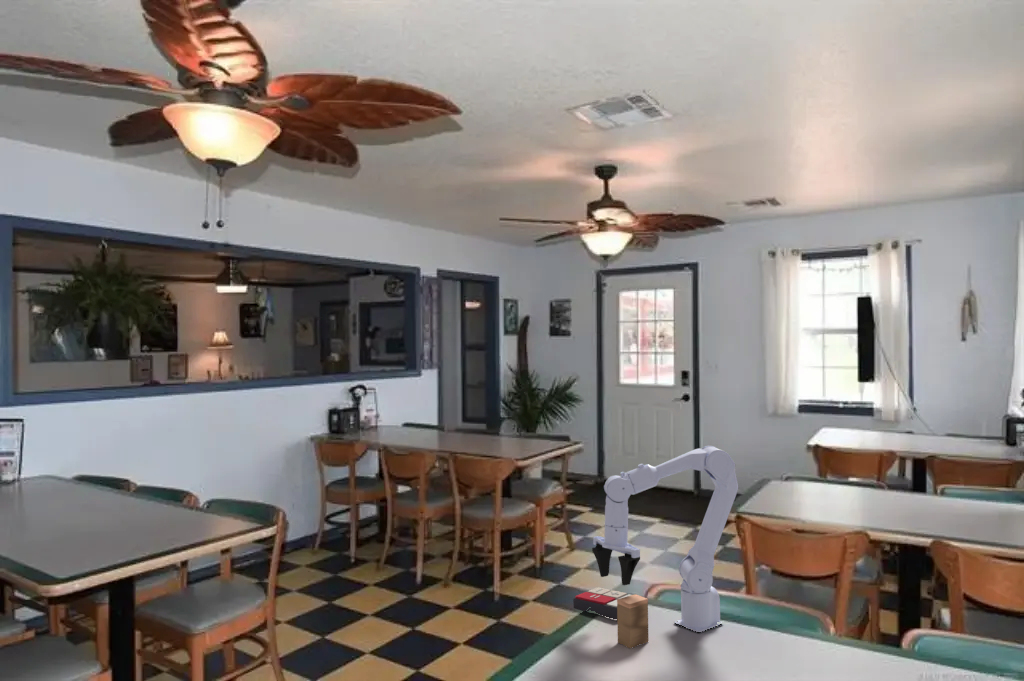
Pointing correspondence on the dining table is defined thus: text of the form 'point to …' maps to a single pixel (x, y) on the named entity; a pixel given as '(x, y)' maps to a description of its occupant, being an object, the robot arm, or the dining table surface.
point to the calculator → (599, 601)
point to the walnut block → (632, 620)
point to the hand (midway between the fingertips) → (615, 580)
